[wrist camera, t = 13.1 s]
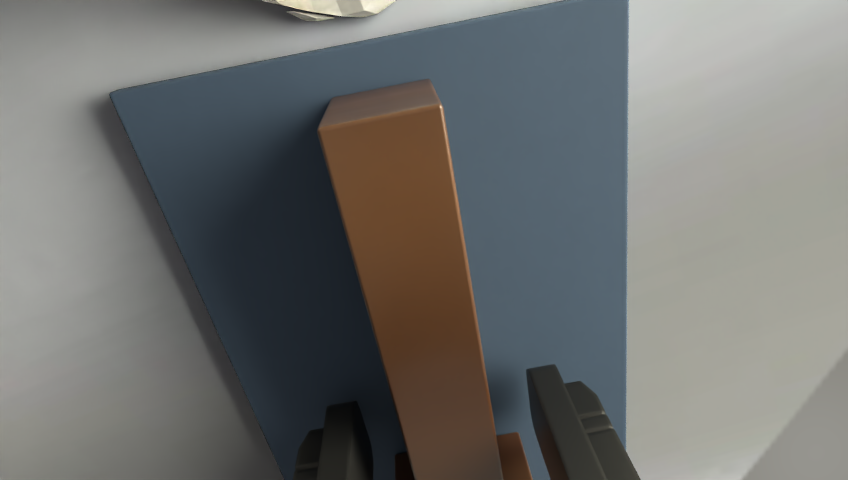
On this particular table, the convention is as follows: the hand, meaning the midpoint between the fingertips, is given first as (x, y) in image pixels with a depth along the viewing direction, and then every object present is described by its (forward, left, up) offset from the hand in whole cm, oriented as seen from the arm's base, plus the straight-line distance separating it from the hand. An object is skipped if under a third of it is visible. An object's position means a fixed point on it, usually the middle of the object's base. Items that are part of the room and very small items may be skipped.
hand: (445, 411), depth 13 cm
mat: (0, 0, -1) cm, 1 cm away
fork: (-1, 0, -1) cm, 1 cm away
